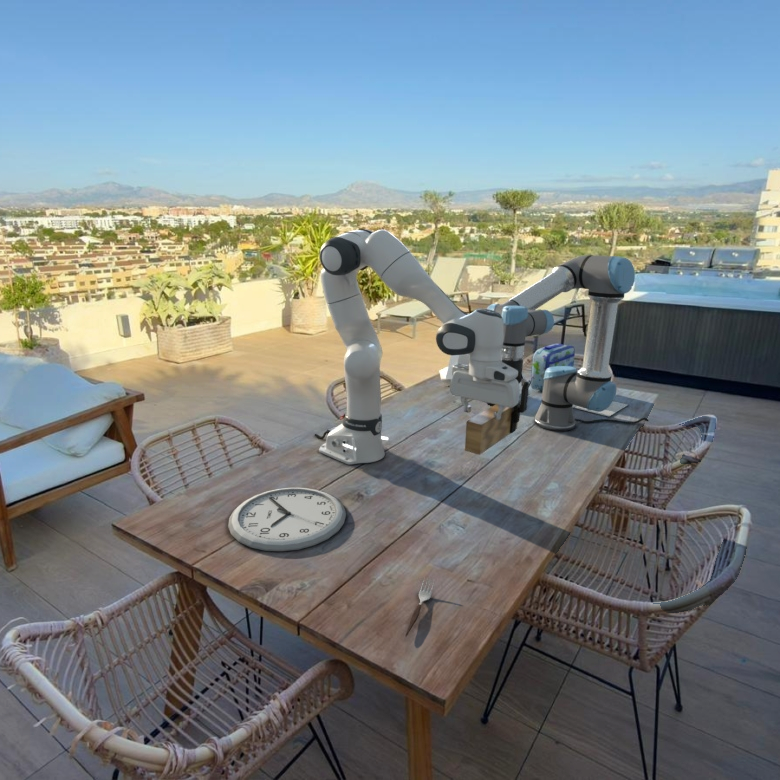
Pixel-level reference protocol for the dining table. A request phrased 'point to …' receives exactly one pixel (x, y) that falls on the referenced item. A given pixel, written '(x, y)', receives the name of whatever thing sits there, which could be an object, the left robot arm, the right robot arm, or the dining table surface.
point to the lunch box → (550, 361)
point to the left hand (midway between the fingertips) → (481, 415)
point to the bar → (487, 429)
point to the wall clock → (287, 519)
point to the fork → (423, 597)
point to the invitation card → (609, 411)
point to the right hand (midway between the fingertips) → (504, 429)
